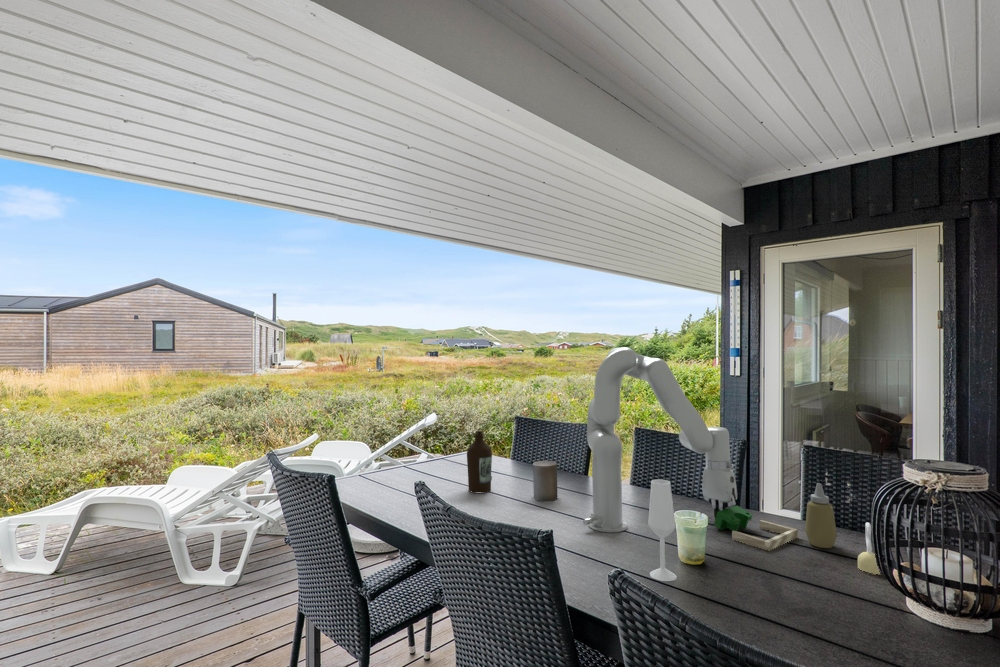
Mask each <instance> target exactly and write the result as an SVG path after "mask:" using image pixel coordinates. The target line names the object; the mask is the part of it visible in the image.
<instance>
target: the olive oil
mask: <svg viewBox="0 0 1000 667" xmlns="http://www.w3.org/2000/svg"><path fill="white" fill-rule="evenodd" d="M492 461H493V452H492V449H491V446H489V444H487V442H485V440H484V432H483V430H480V429H479V430H475V434H474V441H473V442H472V443H471V444H470V445H469V446H468V449H467V451H466V462H467V466H466V467H467V482H468V491H469V490H470V491H472V492H486V493H488V492H487V491H489V492H491V490H492V480H493V476H492ZM470 491H469V492H470ZM472 492H471V493H472Z"/></svg>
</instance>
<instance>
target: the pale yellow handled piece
mask: <svg viewBox="0 0 1000 667" xmlns="http://www.w3.org/2000/svg"><path fill="white" fill-rule="evenodd" d="M864 527H865V529H864V530H865V544H866V551H863V552H861V553H859V554H858V556H857V569H858V568H859V569H860V570H862V571H861V572H863V571H865V572H869V573H873V574H872V575H876V574H878V575H881V574H880V572H879V569H878V566H877V563H876V558H875V554H876V553H874V552H873V550H872V540H871V538H872V525H871V523H870V522H865V525H864ZM859 569H858V570H859ZM860 570H859V571H860ZM865 572H864V573H865ZM869 573H868V574H869Z"/></svg>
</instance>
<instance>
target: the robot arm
mask: <svg viewBox="0 0 1000 667" xmlns="http://www.w3.org/2000/svg"><path fill="white" fill-rule="evenodd" d="M625 376H627V377H628V376H629V377H631V378H634V379H638V380H641V381H645V382H647V383H648V385H649V387H650V388H651V390H652V392H653V394H654V396H655V398H656V400H657V401H658V403H659V405H660V407H661V408H662V409H663V410H664V411H665V412H666V414H667V415H668V416H670V417H671V418H672V419H673V420H674V421H675V422H676V424H677V425H678V426H679V427H680V431H679V434H678V440H679V442H680V444H681V445H682V446H683V447H685V448H686V449H688V450H691V451H693V452H695V453H698V454H701V455H702V454H705V466H704V468H703V473H702V484H701V485H702V495H703V499H704V500H705V501H707V502H709V504H710V505H711V507H712V509H713V511H714V512H713V516H714V520H715V519H716V515H717V512H718V511H721V510H724V509H727V508H729V507H734V506H737V503H736V500H737V499H738V489H737V482H736V476H735V473H734V472H735V471H734V470H733V469H734V467H735V466H734V465H735V464H734V463H732V461H731V450H730V449H731V447H730V431H729V430H728V429H727V428H726V427H720V426H710V427H708V425H707V423H706V422H705V421H704V419H703V418H702V416H701V415H700V413H699V412H698V411H697V409H696V408H695V407H694V406H693V404H692V402H691V401H690V400H689V398H687V396H686V394H685V392H684V391H683V389H682V388H681V386H680V384H679V382H678V381H677V379H676V377H675V375H674V373H673V372H672V370H671V368H670V366H669V365H668V363H667V362H666V361H665V360H664V359H662V358H660V357H649V356H646V355H643V354H640V353H636V351H635V350H634V349H632V348H631V347H627V346H622V347H621V346H620V347H615V348H612V349H611V350H609V352H607V355H606V357H605V358H604V360H603V361H601V363H600V364H599V366H598V369H597V371H596V374H595V378H594V380H595V381H594V391H593V392H594V393H593V397H594V398H592V399H591V400H590V402H589V404H588V408H587V415H586V416H587V419H586V420H587V421H586V422H587V424H586V427H587V428H586V437H587V438H586V439H587V440H586V441H587V444H588V447H589V448H590V450H591V451H592V464H591V476H592V477H591V478H592V482H591V483H592V512H591V513H590V516H589V517H588V518H584V519H583V520H582V524H583V525H584V526H589V528H590V529H591V530H595V531H597V532H601V533H602V532H603V533H620V532H624V531H625V530H627V528H628V523H627V522H626V521H625V520H624V519H623V493H622V492H623V490H622V489H623V488H622V486H623V485H622V462H623V461H622V460H623V444H622V440H621V439H620V437H619V436H618V434H617V433H615V425H616V424H617V423H618V422H619V420H620V417H621V388H622V387H621V385H622V380H623V379H624V377H625Z"/></svg>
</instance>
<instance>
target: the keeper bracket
mask: <svg viewBox="0 0 1000 667" xmlns="http://www.w3.org/2000/svg"><path fill="white" fill-rule="evenodd" d="M760 528H762V529H761V530H763V529H766V530H765V531H767V530H769V531H768V532H771V531H773V532H772V533H774V532H776V533H775V534H778V533H780V534H778V535H775V536H773V537H770V538H769V539H768V538H767V539H764V538H761V537H757V536H754V535H752V534H751V535H750V534H746V533H743V532H741V531H732V530H731V540H732V539H733V541H735V540H736V542H738V541H739V542H738V543H741V542H742V543H741V544H744V543H745V545H748V546H751V547H754V546H755V547H754V548H757V547H758V549H760V548H761V550H764V551H767V550H768V551H767V552H770V550H771V551H772V549H773V550H775V549H777V548H779V547H781V546H784V545H786V544H787V542H788V543H790V542H792V541H794V540H796V539H795V538H797V537H798V538H799V529H798V528H793V527H791V526H786V525H782V524H780V523H779V524H778V523H774V522H770V521H767V520H763V519H761V520H759V529H760ZM798 538H797V539H798ZM793 539H794V540H793ZM791 540H792V541H791ZM789 541H790V542H789ZM785 543H786V544H785ZM783 544H784V545H783ZM780 545H781V546H780ZM778 546H779V547H778ZM776 547H777V548H776ZM774 548H775V549H774Z"/></svg>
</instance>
